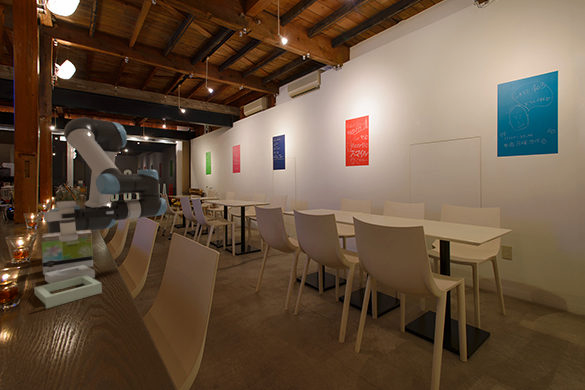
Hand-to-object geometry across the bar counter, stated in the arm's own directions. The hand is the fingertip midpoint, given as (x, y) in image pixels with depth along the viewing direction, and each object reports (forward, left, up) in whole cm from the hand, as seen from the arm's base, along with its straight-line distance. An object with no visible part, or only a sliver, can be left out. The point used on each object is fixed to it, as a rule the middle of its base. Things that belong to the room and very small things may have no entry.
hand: (46, 216), depth 88 cm
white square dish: (-1, +6, -23) cm, 24 cm away
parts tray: (+13, +2, -23) cm, 26 cm away
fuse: (0, +5, -8) cm, 10 cm away
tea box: (-18, +10, -23) cm, 31 cm away
